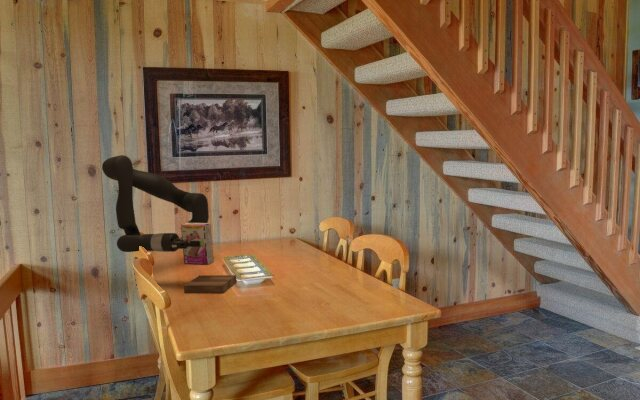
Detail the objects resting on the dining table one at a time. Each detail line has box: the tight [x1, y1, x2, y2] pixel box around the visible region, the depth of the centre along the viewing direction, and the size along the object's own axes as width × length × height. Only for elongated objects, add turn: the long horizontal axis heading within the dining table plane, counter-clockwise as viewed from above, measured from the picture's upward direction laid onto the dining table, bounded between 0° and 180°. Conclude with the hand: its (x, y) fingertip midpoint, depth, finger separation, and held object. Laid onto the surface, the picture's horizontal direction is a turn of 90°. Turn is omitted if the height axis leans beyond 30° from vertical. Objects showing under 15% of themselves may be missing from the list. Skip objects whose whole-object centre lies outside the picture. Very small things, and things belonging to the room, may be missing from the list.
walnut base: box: [183, 274, 237, 294], centre depth 211 cm, size 14×16×3 cm
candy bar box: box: [180, 222, 215, 266], centre depth 214 cm, size 11×5×16 cm, turn 70°
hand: (202, 242), depth 213 cm, fingers closed on candy bar box, 5 cm apart
